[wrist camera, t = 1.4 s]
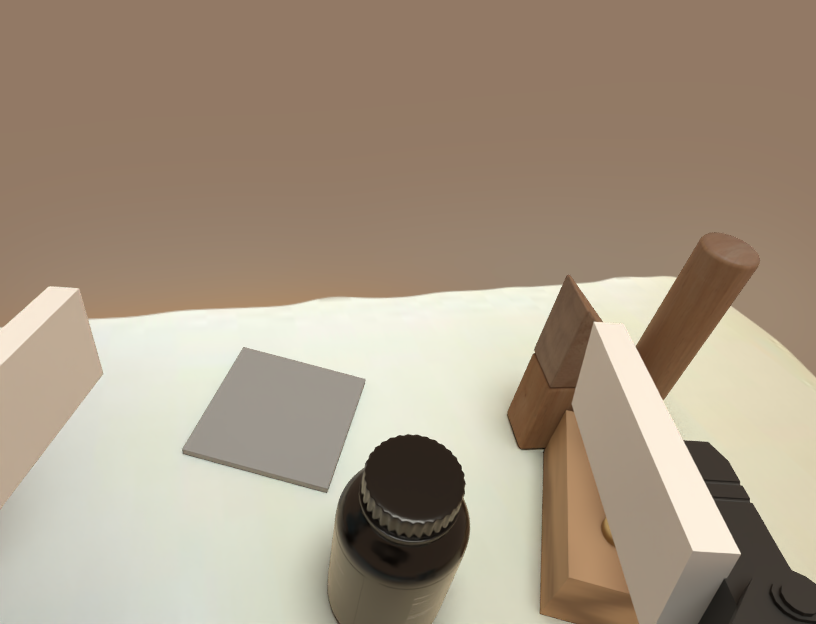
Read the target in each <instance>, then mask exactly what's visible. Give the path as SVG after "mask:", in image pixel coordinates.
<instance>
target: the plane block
mask: <svg viewBox="0 0 816 624" xmlns="http://www.w3.org/2000/svg"><path fill="white" fill-rule="evenodd" d="M540 614H543V615H547V616H550V617H554V618H557V619H561V620H565V621H568V622H572V623H576V624H639V622H638V619H637V616H636V612H635V609H634V606H633V603H632V599H631V596H630V593H629V590H628V586H627V583H626V580H625V577H624V573H623V570H622V567H621V563H620V560H619V557H618V554H617V550H616V547H615V544H614V541H613V537H612V534H611V531H610V528H609V524H608V521H607V518H606V515H605V511H604V508H603V505H602V502H601V498H600V495H599V492H598V488H597V485H596V482H595V479H594V475H593V472H592V469H591V466H590V462H589V459H588V456H587V453H586V449H585V446H584V443H583V440H582V436H581V433H580V430H579V427H578V423H577V420H576V417H575V414H574V412H572V411H568V410H566V411H565V413H564V415H563V417H562V419H561V421H560V422H559V424H558V426H557V428H556V430H555V432H554V433H553V435H552V437H551V439H550V441H549V443H548V444H547V446H546V448H545V450H544V460H543V504H542V548H541V591H540Z"/></svg>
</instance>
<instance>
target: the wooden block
mask: <svg viewBox="0 0 816 624" xmlns="http://www.w3.org/2000/svg"><path fill="white" fill-rule="evenodd" d="M759 262H760V258H759V255H758V253H757V252H756V251H755V250H754V249H753V248H752V247H751V246H750V245H749V244H747V243H745V242H744V241H742V240H740V239H738V238H736V237H733V236H731V235H727V234H723V233H716V232H714V233H708V234H706V235H704V236H703V237H701V239H700V240H699V242H698V244H697V246H696V247H695V249H694V250H693V252H692V254H691V255H690V257H689V259H688V260H687V262H686V264H685V266H684V267H683V269H682V270H681V272H680V274H679V275H678V277H677V279H676V280H675V282H674V284H673V285H672V287H671V289H670V290H669V292H668V294H667V295H666V297H665V299H664V300H663V302H662V304H661V305H660V307H659V309H658V310H657V312H656V314H655V315H654V317H653V319H652V320H651V322H650V323H649V325H648V327H647V328H646V330H645V332H644V333H643V335H642V337H641V338H640V340H639V342H638V343H637V345H636V349H637V351H638V353H639V355H640V356H641V358H642V360H643V362H644V364H645V366H646V368H647V370H648V372H649V374H650V376H651V378H652V380H653V382H654V384H655V386H656V388H657V390H658V392H659V394H660V396H661V398H662V400H664V399H665V397H666V396H667V395H668V393H669V392H670V390H671V389H672V388H673V386H674V385H675V383H676V382H677V381H678V379H679V378H680V376H681V375H682V373H683V372H684V371H685V369H686V368H687V366H688V365H689V364H690V362H691V361H692V359H693V358H694V357H695V355H696V354H697V352H698V351H699V350H700V348H701V347H702V345H703V344H704V342H705V341H706V340H707V338H708V337H709V335H710V334H711V333H712V331H713V330H714V328H715V327H716V326H717V324H718V323H719V321H720V320H721V319H722V317H723V316H724V314H725V313H726V311H727V310H728V309H729V307H730V306H731V304H732V303H733V301H734V300H735V299H736V297H737V296H738V294H739V293H740V292H741V290H742V289H743V287H744V286H745V285H746V283H747V282H748V280H749V279H750V278H751V276H752V275H753V273H754V272H755V271H756V269H757V268H758V265H759ZM594 322H603V321H602V320H601V318H600V317H599V316H598V314H597V313H596V311H595V310H594V308H593V307H592V306H591V304H590V303H589V301H588V300H587V299H586V297H585V296H584V294H583V293H582V291H581V290H580V289H579V287H578V286H577V284H576V283H575V281H574V280H573V279H572V277H571V276H570V275H567V276H566V278H565V281H564V283H563V285H562V287H561V290H560V292H559V294H558V296H557V299H556V301H555V303H554V306H553V308H552V310H551V312H550V315H549V317H548V319H547V321H546V324H545V326H544V328H543V330H542V333H541V335H540V337H539V340H538V342H537V344H536V346H535V349H534V350H535V353H534V354H533V355H532V357H531V360H530V362H529V364H528V366H527V369H526V371H525V373H524V375H523V378H522V380H521V382H520V385H519V387H518V389H517V391H516V394H515V396H514V398H513V400H512V403H511V405H510V407H509V409H508V417H509V420H510V423H511V426H512V428H513V431H514V434H515V437H516V440H517V443H518V446H519V447H520V448H522V449H529V448H546V446H547V444H548V443H549V441H550V439H551V437H552V435H553V433H554V432H555V430H556V428H557V426H558V424H559V422H560V421H561V419H562V417H563V415H564V413H565V411H566V410H568V411H572V412H574V410H573V407H572V400H573V396H574V393H575V389H576V385H577V382H578V378H579V374H580V371H581V367H582V363H583V360H584V356H585V352H586V349H587V345H588V341H589V338H590V334H591V330H592V326H593V323H594Z"/></svg>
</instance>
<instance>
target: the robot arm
mask: <svg viewBox="0 0 816 624" xmlns="http://www.w3.org/2000/svg"><path fill="white" fill-rule="evenodd" d="M102 375H103V371H102V367H101V364H100V360H99V356H98V353H97V349H96V346H95V342H94V339H93V335H92V332H91V328H90V325H89V321H88V318H87V314H86V311H85V308H84V304H83V300H82V297H81V293H80V290H79V288H66V287H50V286H49V287H48V288H47V289H46V290H45V291H43V292H42V293H41V294H40V295H39V296H38V297H37V298H36V299H34V300H33V301H32V302H31V303H30V304H29V305H28V306H27V307H26V308H24V310H22V311H21V312H20V313H19V314H18V315H17V316H16V317H14V318H13V319H12V320H11V321H10V322H9V323H8V324H7V325H5V326H4V327H3V328H2V329H1V330H0V509H1V507H2V506H3V505H4V504H5V502H6V501H7V500H8V498H9V497H10V496H11V494H12V493H13V492H14V490H15V489H16V488H17V486H18V485H19V484H20V483H21V481H22V480H23V479H24V477H25V476H26V475H27V473H28V472H29V471H30V469H31V468H32V467H33V465H34V464H35V463H36V462H37V460H38V459H39V458H40V456H41V455H42V454H43V452H44V451H45V450H46V448H47V447H48V446H49V444H50V443H51V442H52V440H53V439H54V438H55V437H56V435H57V434H58V433H59V431H60V430H61V429H62V427H63V426H64V425H65V423H66V422H67V421H68V419H69V418H70V417H71V416H72V414H73V413H74V412H75V410H76V409H77V408H78V406H79V405H80V404H81V402H82V401H83V400H84V398H85V397H86V396H87V394H88V393H89V392H90V391H91V389H92V388H93V387H94V385H95V384H96V383H97V381H98V380H99V379H100V377H101V376H102ZM572 407H573V410H574V414H575V417H576V420H577V423H578V427H579V430H580V433H581V436H582V440H583V443H584V446H585V449H586V453H587V456H588V459H589V462H590V466H591V469H592V472H593V475H594V479H595V482H596V485H597V488H598V492H599V495H600V498H601V502H602V505H603V508H604V511H605V515H606V518H607V521H608V524H609V528H610V531H611V534H612V537H613V541H614V544H615V547H616V550H617V554H618V557H619V560H620V563H621V567H622V570H623V573H624V577H625V580H626V583H627V586H628V590H629V593H630V596H631V599H632V603H633V606H634V609H635V612H636V616H637V619H638V622H639V624H816V584H815V583H814V582H812V581H811V580H810V579H808V578H807V577H806V576H803V575H801V574H799V573H797V572H794V571H792V570H791V568H790V567H789V566H788V564H787V562H786V560H785V559H784V557H783V555H782V553H781V552H780V550H779V548H778V546H777V545H776V543H775V541H774V540H773V538H772V536H771V534H770V533H769V531H768V529H767V527H766V526H765V524H764V522H763V520H762V519H761V517H760V515H759V513H758V512H757V510H756V508H755V507H754V505H753V503H750V498H749V496H748V494H747V493H746V491H745V489H744V487H743V486H740V480H739V479H738V477H737V475H736V474H735V472H734V470H733V468H732V467H731V465H730V463H729V461H728V460H727V459H726V458H725V457H724V456H722V455H721V454H720V453H719V452H718V451H717V450H716V449H715V448H714V447H713V446H712V445H711V444H710V443H709V442H700V441H685V440H683V439H682V437H681V435H680V433H679V431H678V429H677V427H676V425H675V423H674V421H673V419H672V417H671V415H670V413H669V411H668V410H667V408H666V406H665V404H664V402H663V400H662V398H661V396H660V394H659V392H658V390H657V388H656V386H655V384H654V382H653V380H652V378H651V376H650V374H649V372H648V370H647V368H646V366H645V364H644V362H643V360H642V358H641V356H640V355H639V353H638V351H637V349H636V347H635V345H634V343H633V341H632V339H631V337H630V335H629V333H628V331H627V329H626V327H625V325H624V324H622V323H606V322H594V323H593V326H592V330H591V334H590V338H589V341H588V345H587V349H586V352H585V356H584V360H583V363H582V367H581V371H580V374H579V378H578V382H577V385H576V389H575V393H574V396H573V400H572Z"/></svg>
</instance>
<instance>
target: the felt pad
mask: <svg viewBox="0 0 816 624" xmlns="http://www.w3.org/2000/svg"><path fill="white" fill-rule="evenodd" d="M364 384H365V379H363V378H359V377H355V376H352V375H348V374H344V373H340V372H336V371H333V370H329V369H325V368H321V367H317V366H314V365H310V364H306V363H302V362H298V361H295V360H291V359H287V358H283V357H279V356H276V355H272V354H268V353H264V352H260V351H257V350H253V349H249V348H245V347H243V349H242V350H241V352H240V354H239V355H238V357H237V359H236V360H235V362H234V364H233V365H232V367H231V369H230V370H229V372H228V374H227V375H226V377H225V379H224V380H223V382H222V384H221V385H220V387H219V389H218V390H217V392H216V394H215V395H214V397H213V399H212V400H211V402H210V404H209V405H208V407H207V409H206V410H205V412H204V414H203V415H202V417H201V419H200V420H199V422H198V424H197V425H196V427H195V429H194V430H193V432H192V434H191V435H190V437H189V439H188V440H187V442H186V444H185V445H184V447H183V449H182V451H183V454H187V455H190V456H194V457H198V458H201V459H205V460H209V461H212V462H216V463H220V464H223V465H227V466H231V467H234V468H238V469H242V470H245V471H249V472H253V473H257V474H260V475H264V476H268V477H271V478H275V479H279V480H282V481H286V482H290V483H293V484H297V485H301V486H304V487H308V488H312V489H315V490H319V491H323V492H326V493H327V491H328V488H329V486H330V483H331V480H332V477H333V474H334V471H335V468H336V465H337V462H338V459H339V457H340V454H341V451H342V448H343V445H344V442H345V439H346V436H347V433H348V430H349V428H350V425H351V422H352V419H353V416H354V413H355V410H356V407H357V404H358V401H359V399H360V396H361V393H362V390H363V387H364Z"/></svg>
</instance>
